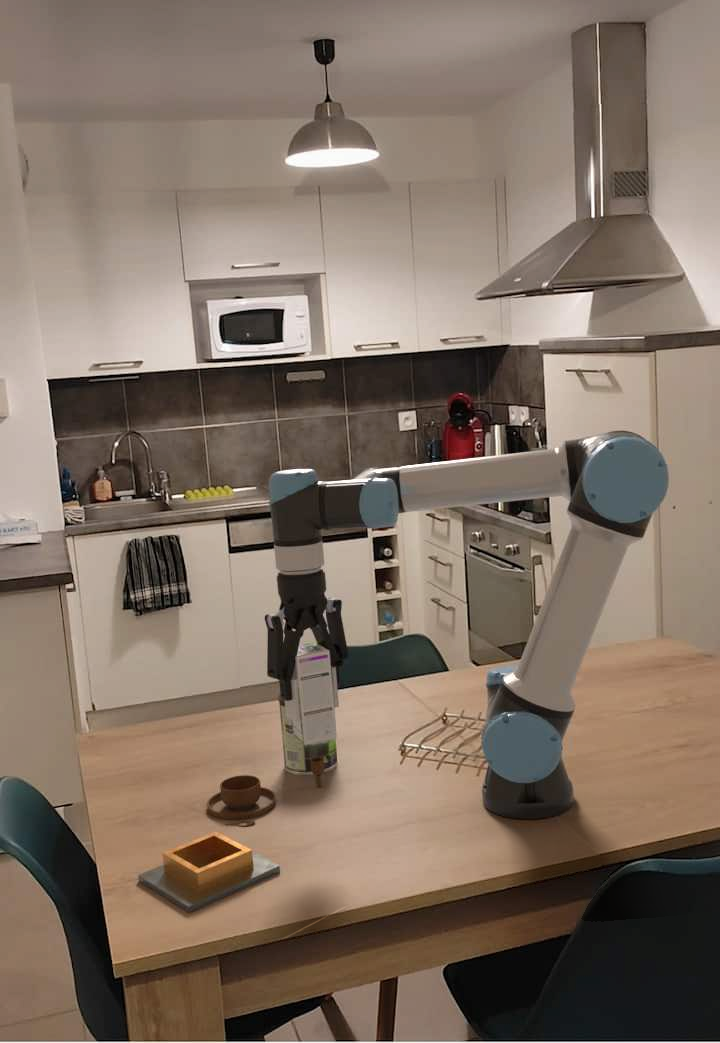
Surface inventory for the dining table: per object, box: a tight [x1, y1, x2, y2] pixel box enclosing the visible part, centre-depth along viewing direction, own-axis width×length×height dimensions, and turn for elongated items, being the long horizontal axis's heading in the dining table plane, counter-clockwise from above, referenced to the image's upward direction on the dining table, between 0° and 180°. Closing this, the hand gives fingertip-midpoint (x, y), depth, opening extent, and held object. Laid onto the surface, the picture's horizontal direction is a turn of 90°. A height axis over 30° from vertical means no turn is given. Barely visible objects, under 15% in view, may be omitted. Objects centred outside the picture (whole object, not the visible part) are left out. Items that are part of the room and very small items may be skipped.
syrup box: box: [292, 642, 337, 744], centre depth 168 cm, size 6×6×14 cm
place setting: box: [206, 757, 324, 827], centre depth 184 cm, size 18×20×6 cm
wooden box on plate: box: [137, 831, 281, 914], centre depth 159 cm, size 14×16×4 cm
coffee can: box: [277, 693, 339, 776], centre depth 200 cm, size 10×10×14 cm
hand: (312, 711), depth 168 cm, fingers closed on syrup box, 7 cm apart
